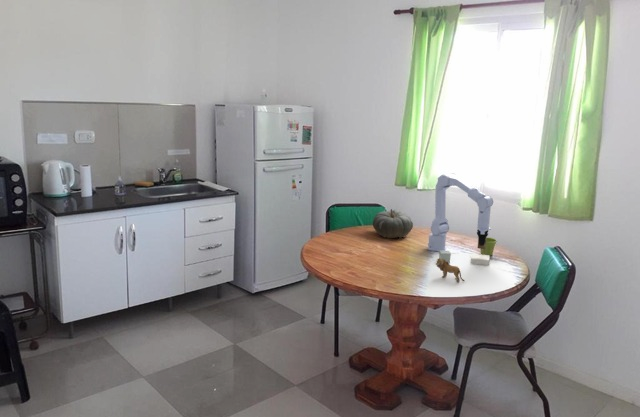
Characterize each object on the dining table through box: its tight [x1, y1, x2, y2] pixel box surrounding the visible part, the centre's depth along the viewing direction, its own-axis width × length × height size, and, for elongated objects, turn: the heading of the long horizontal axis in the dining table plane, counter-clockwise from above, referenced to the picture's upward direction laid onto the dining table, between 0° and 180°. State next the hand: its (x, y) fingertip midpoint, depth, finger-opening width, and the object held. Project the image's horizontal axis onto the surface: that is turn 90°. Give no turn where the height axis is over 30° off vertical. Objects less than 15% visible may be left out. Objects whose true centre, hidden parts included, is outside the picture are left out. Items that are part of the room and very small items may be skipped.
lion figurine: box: [435, 257, 466, 283], centre depth 235 cm, size 15×5×9 cm, turn 52°
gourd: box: [372, 208, 414, 239], centre depth 308 cm, size 25×25×17 cm
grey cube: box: [438, 250, 452, 264], centre depth 262 cm, size 5×5×5 cm
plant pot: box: [480, 236, 498, 257], centre depth 273 cm, size 9×9×9 cm
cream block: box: [470, 253, 490, 266], centre depth 262 cm, size 9×9×3 cm
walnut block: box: [477, 238, 486, 250], centre depth 260 cm, size 4×4×5 cm
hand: (481, 244), depth 260 cm, fingers closed on walnut block, 4 cm apart
